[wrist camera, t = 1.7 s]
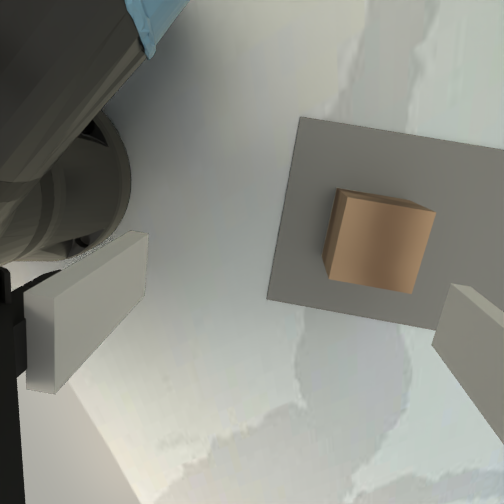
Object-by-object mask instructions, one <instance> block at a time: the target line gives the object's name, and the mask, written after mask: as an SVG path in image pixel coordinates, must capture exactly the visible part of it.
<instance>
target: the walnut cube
mask: <svg viewBox="0 0 504 504" xmlns="http://www.w3.org/2000/svg"><path fill="white" fill-rule="evenodd" d="M435 215H436V212H434V211H432V210H430V209H428V208H426V207H423V206H421V205H419V204H417V203H415V202H412V201H410V200H407V199H401V198H395V197H389V196H383V195H377V194H372V193H366V192H360V191H354V190H348V189H342V188H336V192H335V197H334V201H333V206H332V210H331V215H330V219H329V224H328V228H327V233H326V237H325V242H324V246H323V251H322V255H321V256H322V259H323V262H324V266H325V269H326V272H327V275H328V279H331V280H337V281H342V282H348V283H353V284H359V285H364V286H370V287H375V288H381V289H386V290H392V291H397V292H403V293H408V294H412V291H413V288H414V285H415V281H416V278H417V275H418V271H419V268H420V265H421V261H422V258H423V255H424V251H425V248H426V245H427V242H428V238H429V235H430V232H431V228H432V225H433V222H434V218H435Z"/></svg>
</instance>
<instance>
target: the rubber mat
mask: <svg viewBox="0 0 504 504" xmlns="http://www.w3.org/2000/svg"><path fill="white" fill-rule="evenodd" d="M336 188H342V189H348V190H354V191H360V192H366V193H372V194H377V195H383V196H389V197H395V198H401V199H407V200H410V201H412V202H415V203H417V204H419V205H421V206H423V207H426V208H428V209H430V210H432V211H434V212H436V215H435V218H434V222H433V225H432V228H431V232H430V235H429V238H428V242H427V245H426V248H425V251H424V255H423V258H422V261H421V265H420V268H419V271H418V275H417V278H416V281H415V285H414V288H413V291H412V294H408V293H403V292H397V291H392V290H386V289H381V288H375V287H370V286H364V285H359V284H353V283H348V282H342V281H337V280H331V279H328V275H327V272H326V269H325V266H324V262H323V259H322V256H321V255H322V251H323V246H324V242H325V237H326V233H327V228H328V224H329V219H330V215H331V210H332V206H333V201H334V197H335V192H336ZM451 283H452V284H458V285H464V286H470V287H472V288H473V289H474V290H476V291H477V292H478V293H480V294H481V295H482V296H483V297H485V298H486V299H487V300H489V301H490V302H491V303H492V304H494V305H495V306H496V307H498V308H499V309H500V310H501V311H503V312H504V150H501V149H495V148H489V147H482V146H476V145H470V144H464V143H458V142H452V141H446V140H440V139H434V138H428V137H421V136H415V135H409V134H403V133H397V132H391V131H385V130H379V129H373V128H367V127H360V126H354V125H348V124H342V123H336V122H330V121H324V120H318V119H312V118H306V117H300V122H299V128H298V133H297V138H296V144H295V149H294V154H293V160H292V165H291V171H290V176H289V181H288V187H287V192H286V198H285V203H284V208H283V214H282V219H281V225H280V230H279V235H278V241H277V246H276V252H275V257H274V262H273V268H272V273H271V278H270V284H269V289H268V295H267V299H268V300H273V301H279V302H284V303H290V304H295V305H300V306H306V307H311V308H317V309H322V310H328V311H333V312H338V313H344V314H349V315H355V316H360V317H366V318H371V319H377V320H382V321H387V322H393V323H398V324H404V325H409V326H415V327H420V328H425V329H431V330H436V329H437V326H438V323H439V320H440V316H441V313H442V310H443V307H444V304H445V301H446V298H447V295H448V291H449V288H450V285H451Z"/></svg>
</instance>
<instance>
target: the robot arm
mask: <svg viewBox="0 0 504 504" xmlns="http://www.w3.org/2000/svg"><path fill="white" fill-rule="evenodd" d="M189 1H190V0H0V504H25V492H24V477H23V463H22V448H21V435H20V420H19V405H18V391H17V377H18V376H19V375H20V374H21V373H23V372H24V371H25V370H26V389H27V390H34V391H39V392H44V393H49V394H56V393H57V392H58V390H59V389H60V388H61V387H62V386H63V385H64V384H65V383H66V382H67V381H68V379H69V378H70V377H71V376H72V375H73V374H74V373H75V372H76V371H77V370H78V368H79V367H80V366H81V365H82V364H83V363H84V362H85V361H86V360H87V359H88V357H89V356H90V355H91V354H92V353H93V352H94V351H95V350H96V349H97V348H98V346H99V345H100V344H101V343H102V342H103V341H104V340H105V339H106V338H107V337H108V335H109V334H110V333H111V332H112V331H113V330H114V329H115V328H116V327H117V326H118V324H119V323H120V322H121V321H122V320H123V319H124V318H125V317H126V316H127V315H128V313H129V312H130V311H131V310H132V309H133V308H134V307H135V306H136V305H137V304H138V302H139V301H140V300H141V299H142V298H143V297H144V296H145V284H146V269H147V255H148V241H149V234H148V233H142V232H136V231H129V232H127V233H126V234H124V235H122V236H120V237H119V238H117V239H115V240H113V241H112V242H110V243H108V244H107V245H105V246H103V247H101V248H100V249H98V250H96V251H94V252H93V253H91V254H89V255H88V256H86V257H84V258H82V259H81V260H79V261H77V262H75V263H74V264H72V265H70V266H69V267H67V268H65V269H63V270H56V271H52V272H49V273H45V274H43V275H41V276H39V277H37V278H35V279H34V280H33V281H30V282H28V283H26V284H24V286H21V287H19V288H17V289H15V290H14V291H12V292H11V280H10V272H9V271H8V269H6V268H3V267H1V266H3V265H5V264H7V263H9V262H12V261H59V260H64V259H69V258H72V257H75V256H78V255H80V254H82V253H84V252H86V251H88V250H90V249H92V248H94V247H96V246H97V245H99V244H100V243H102V242H103V241H104V240H106V239H107V238H108V237H109V236H110V235H111V234H112V233H113V232H114V230H115V229H116V228H117V226H118V225H119V223H120V222H121V220H122V218H123V216H124V214H125V211H126V208H127V205H128V202H129V197H130V189H131V174H130V166H129V161H128V157H127V153H126V150H125V147H124V145H123V142H122V140H121V138H120V136H119V134H118V132H117V130H116V129H115V127H114V126H113V124H112V123H111V121H110V120H109V119H108V117H107V116H106V115H105V114H104V113H103V112H102V111H101V109H102V108H103V106H104V105H105V104H106V103H107V102H108V101H109V100H110V98H111V97H112V96H113V95H114V94H115V93H116V92H117V91H118V89H119V88H120V87H121V86H122V85H123V84H124V83H125V82H126V80H127V79H128V78H129V77H130V76H131V75H132V74H133V72H134V71H135V70H136V69H137V68H138V67H139V66H140V65H141V63H142V62H143V61H144V60H145V59H146V58H147V59H148V60H150V59H151V58H152V57H153V56H154V54H155V52H156V45H157V43H158V42H159V41H160V39H161V38H162V37H163V35H164V34H165V32H166V31H167V30H168V28H169V27H170V26H171V24H172V23H173V22H174V20H175V19H176V17H177V16H178V15H179V14H180V12H181V11H182V10H183V8H184V7H185V6H186V5H187V3H188V2H189ZM432 346H433V347H434V349H435V350H436V352H437V353H438V354H439V356H440V357H441V358H442V360H443V361H444V363H445V364H446V365H447V367H448V368H449V370H450V371H451V372H452V374H453V375H454V376H455V378H456V379H457V381H458V382H459V383H460V385H461V386H462V388H463V389H464V390H465V392H466V393H467V394H468V396H469V397H470V399H471V400H472V401H473V403H474V404H475V406H476V407H477V408H478V410H479V411H480V412H481V414H482V415H483V417H484V418H485V419H486V421H487V422H488V423H489V425H490V426H491V428H492V429H493V430H494V432H495V433H496V435H497V436H498V437H499V439H500V440H501V441H502V443H503V444H504V312H503V311H501V310H500V309H499V308H498V307H496V306H495V305H494V304H492V303H491V302H490V301H489V300H487V299H486V298H485V297H483V296H482V295H481V294H480V293H478V292H477V291H476V290H474V289H473V288H472V287H470V286H464V285H458V284H452V283H451V285H450V288H449V291H448V295H447V298H446V301H445V304H444V307H443V310H442V313H441V316H440V320H439V323H438V326H437V329H436V332H435V335H434V338H433V341H432Z"/></svg>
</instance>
